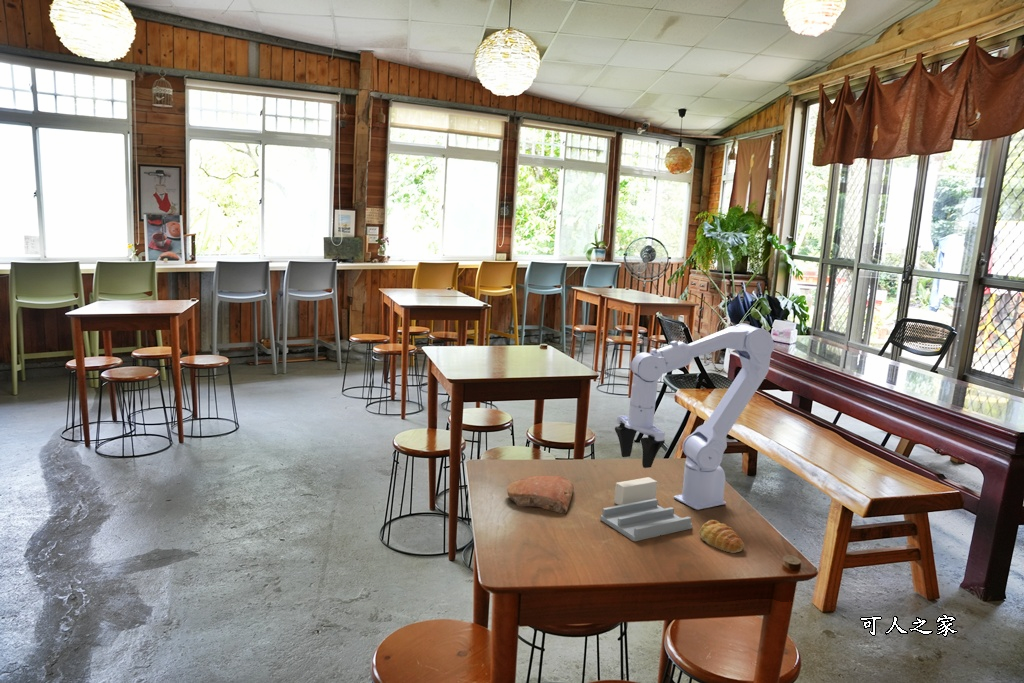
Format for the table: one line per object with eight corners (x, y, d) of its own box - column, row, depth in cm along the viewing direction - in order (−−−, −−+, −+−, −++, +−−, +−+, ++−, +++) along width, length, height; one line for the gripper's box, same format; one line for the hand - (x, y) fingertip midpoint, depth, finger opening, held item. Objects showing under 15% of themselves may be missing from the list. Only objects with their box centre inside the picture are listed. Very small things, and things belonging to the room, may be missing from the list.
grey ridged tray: (656, 508, 159) (657, 498, 159) (692, 528, 149) (693, 517, 149) (600, 519, 151) (600, 508, 151) (634, 541, 141) (635, 530, 141)
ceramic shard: (517, 463, 170) (576, 479, 167) (511, 488, 170) (570, 505, 168) (506, 476, 155) (571, 493, 153) (500, 503, 156) (564, 521, 153)
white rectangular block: (646, 496, 166) (648, 477, 166) (655, 501, 164) (657, 481, 163) (614, 503, 162) (615, 482, 161) (622, 507, 159) (623, 487, 158)
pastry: (751, 552, 140) (753, 534, 139) (727, 558, 137) (729, 539, 136) (718, 533, 148) (720, 516, 148) (694, 538, 145) (696, 521, 145)
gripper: (609, 398, 163) (603, 453, 165) (649, 414, 150) (643, 474, 153) (632, 396, 166) (626, 450, 169) (674, 412, 154) (667, 470, 156)
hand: (636, 461), depth 161 cm, fingers open, 7 cm apart
